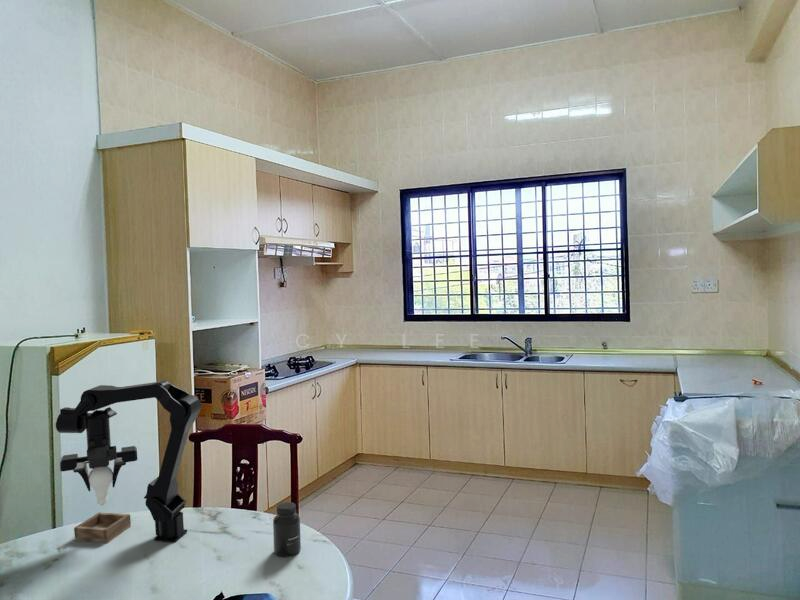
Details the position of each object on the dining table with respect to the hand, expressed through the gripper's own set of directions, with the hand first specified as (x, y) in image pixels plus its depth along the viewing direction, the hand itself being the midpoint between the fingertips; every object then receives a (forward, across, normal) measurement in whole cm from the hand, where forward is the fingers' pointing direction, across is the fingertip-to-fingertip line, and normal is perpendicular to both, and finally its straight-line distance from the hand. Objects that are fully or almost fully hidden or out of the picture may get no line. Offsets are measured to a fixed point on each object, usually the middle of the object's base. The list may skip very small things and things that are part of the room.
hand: (101, 488), depth 170 cm
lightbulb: (+5, 0, 0) cm, 5 cm away
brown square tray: (+13, 0, +2) cm, 13 cm away
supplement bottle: (+13, +43, -32) cm, 55 cm away
